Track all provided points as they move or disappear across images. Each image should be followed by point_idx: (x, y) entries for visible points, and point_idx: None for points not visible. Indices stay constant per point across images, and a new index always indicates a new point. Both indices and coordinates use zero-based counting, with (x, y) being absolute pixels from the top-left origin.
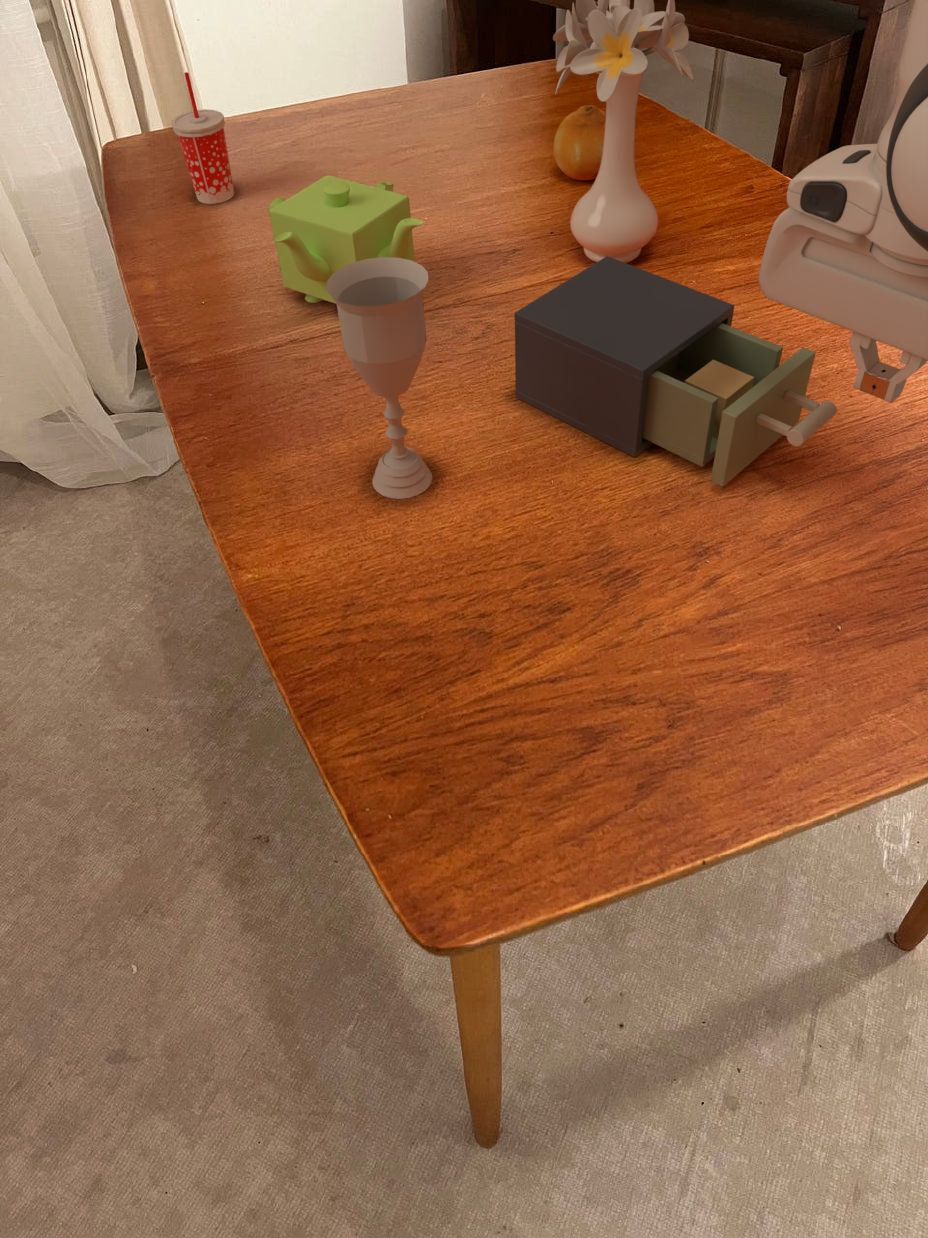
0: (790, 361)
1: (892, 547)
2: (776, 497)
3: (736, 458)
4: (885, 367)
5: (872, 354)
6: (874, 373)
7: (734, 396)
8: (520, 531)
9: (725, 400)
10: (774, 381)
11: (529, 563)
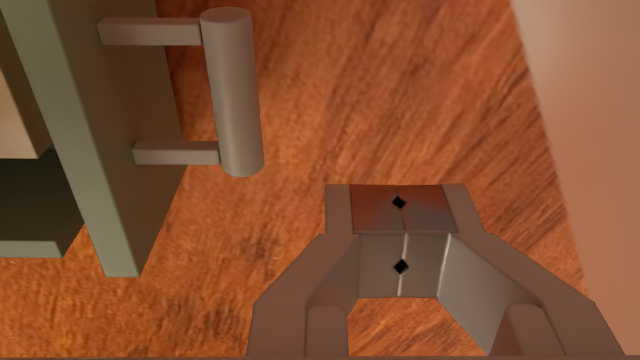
0: (15, 9)
1: (485, 88)
2: (260, 101)
3: (170, 166)
4: (398, 251)
5: (340, 288)
6: (381, 291)
7: (32, 119)
8: (81, 331)
9: (39, 156)
10: (79, 130)
11: (134, 352)
